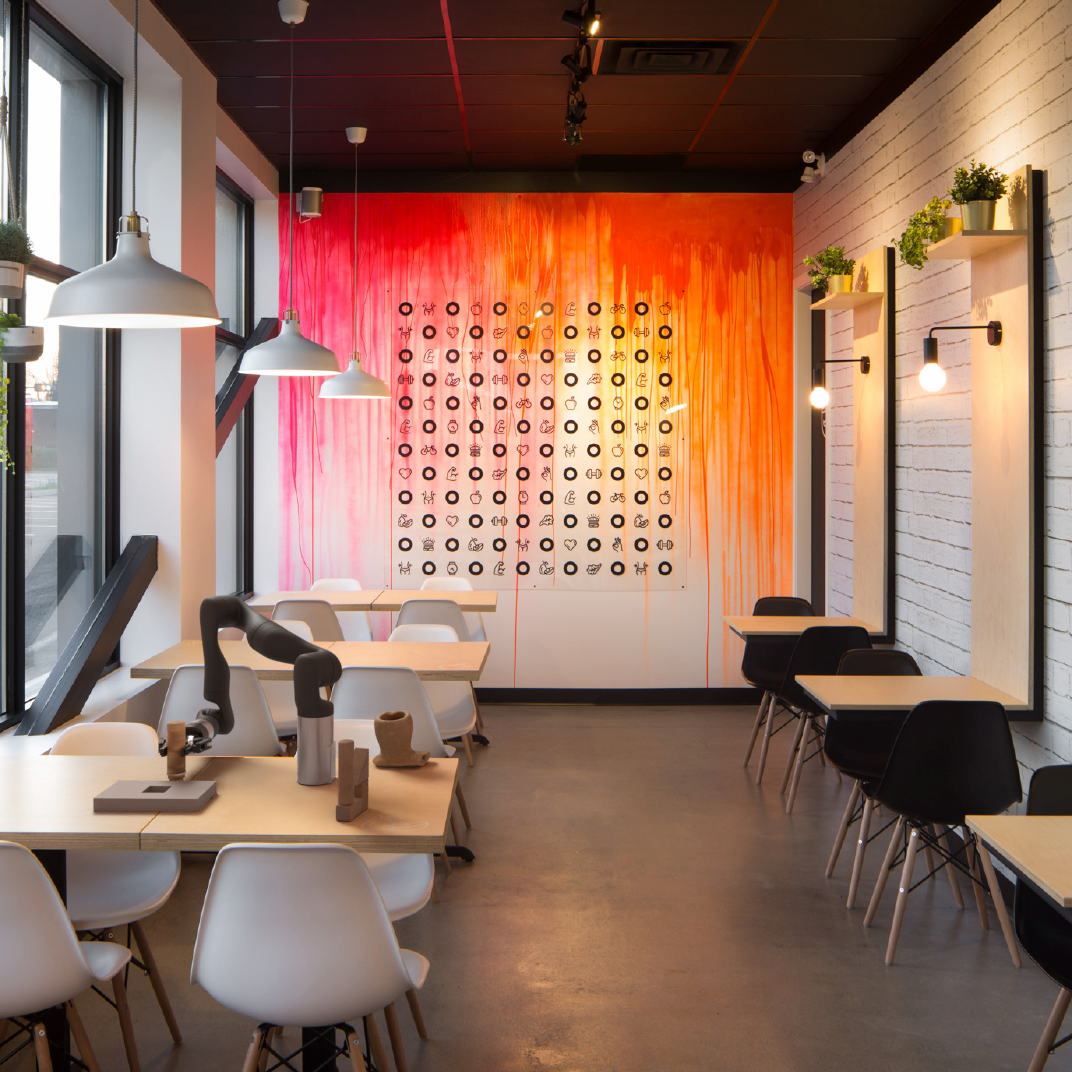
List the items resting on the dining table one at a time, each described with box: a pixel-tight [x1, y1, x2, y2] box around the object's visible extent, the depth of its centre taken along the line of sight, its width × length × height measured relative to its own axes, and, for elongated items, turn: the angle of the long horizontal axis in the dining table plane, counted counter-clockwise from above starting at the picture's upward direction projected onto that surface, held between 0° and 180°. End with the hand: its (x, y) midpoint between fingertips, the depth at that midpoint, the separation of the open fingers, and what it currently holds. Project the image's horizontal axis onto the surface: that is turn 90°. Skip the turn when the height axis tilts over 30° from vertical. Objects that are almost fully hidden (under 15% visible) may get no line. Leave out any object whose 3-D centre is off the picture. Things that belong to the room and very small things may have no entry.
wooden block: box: [335, 738, 370, 823], centre depth 223 cm, size 4×11×18 cm, turn 167°
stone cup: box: [372, 709, 432, 767], centre depth 264 cm, size 15×12×15 cm
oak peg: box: [166, 720, 187, 781], centre depth 244 cm, size 5×5×16 cm
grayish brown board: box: [92, 779, 218, 813], centre depth 231 cm, size 24×14×3 cm, turn 91°
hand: (172, 752), depth 241 cm, fingers closed on oak peg, 4 cm apart
